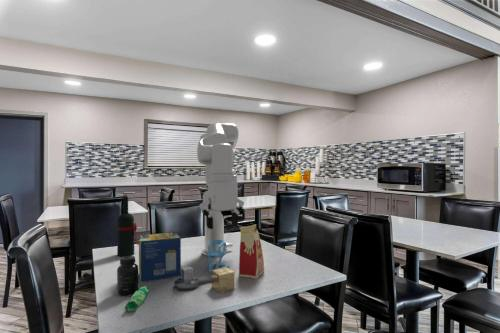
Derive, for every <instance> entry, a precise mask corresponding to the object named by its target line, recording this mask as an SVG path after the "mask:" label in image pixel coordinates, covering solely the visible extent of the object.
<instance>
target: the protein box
mask: <svg viewBox="0 0 500 333" xmlns="http://www.w3.org/2000/svg"><path fill="white" fill-rule="evenodd" d="M181 242H182V239H181V236H179V234H178V233H177V232H176V231H175V232H164V233H153V234H145V235H144V234H141V235H138V244H139V245H138V276H139V281H140V283H142V282H143V283H144V282H148V281H149V282H151V281H157V280H163V279H164V280H165V279H171V278H177V277H178V278H179V277H181V268H182V267H181V266H182V256H181V255H182V254H181V253H182V250H181V248H182V246H181Z"/></svg>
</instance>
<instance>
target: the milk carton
mask: <svg viewBox="0 0 500 333" xmlns="http://www.w3.org/2000/svg"><path fill="white" fill-rule="evenodd" d="M238 228H239V229H240V240H239V255H238V256H239V257H238V258H239V259H238V260H239V262H238V277H243V278H250V277H251V279H256V280H257V279H258V278H259V277H260V276H261V275H262V274H263V273H264V272H265V262H264V255H263V249H262V243H261V242H262V241H261V238H260V233H259V231H258V228H257V224H252V225H248V226H242V227H241V226H240V227H238Z"/></svg>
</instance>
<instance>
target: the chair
mask: <svg viewBox="0 0 500 333" xmlns="http://www.w3.org/2000/svg"><path fill="white" fill-rule="evenodd" d="M226 243H227V242H226V241H225V240H224V241H222V240H214V241H211V242H209V244H208V250H209V251H208V253H207V254H206V255H205V256H206V257H207V260H208V261H207V262H208V271H209V273H210V272H211V273H212V270H215V269H220V268H225V267H227V268H229V269H230V265H229V264H221V262H222V259H223V257H224V256H225V255H227V253H228V250H227V251H225V246H226ZM211 244H213V245H214V249H213V250H212V251H211V252H210V248H209V247H210V245H211ZM215 244H220V246H219V250H215ZM223 245H224V247H223V251H220V249H221V247H222V246H223ZM212 257H216V258H219V260H218V262H217V263H212ZM214 267H215V268H214Z"/></svg>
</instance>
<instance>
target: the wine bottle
mask: <svg viewBox="0 0 500 333" xmlns="http://www.w3.org/2000/svg"><path fill="white" fill-rule="evenodd" d="M122 198H123V201H122V202H123V205H122V206H123V211H122V212H123V213H121V214H120V215H119V216H118V218H117V245H116V246H117V247H116V248H117V257H119V258H121V257H124V256H134V255H135V243H136V245H137V246H139V241H138V238H137V237H138V236H137V228H138V226H137V222H135V218H134V215H133V214H132V213H129V194H128V193H124V194H123V197H122Z"/></svg>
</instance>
